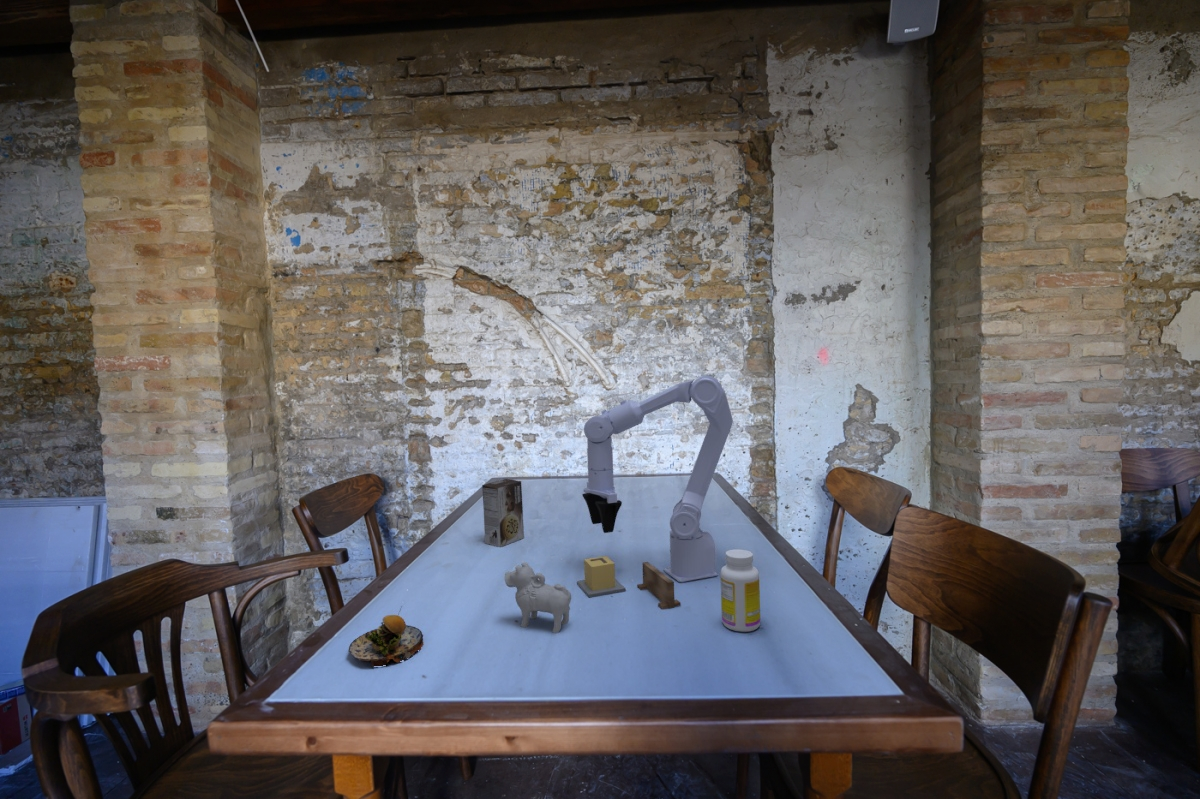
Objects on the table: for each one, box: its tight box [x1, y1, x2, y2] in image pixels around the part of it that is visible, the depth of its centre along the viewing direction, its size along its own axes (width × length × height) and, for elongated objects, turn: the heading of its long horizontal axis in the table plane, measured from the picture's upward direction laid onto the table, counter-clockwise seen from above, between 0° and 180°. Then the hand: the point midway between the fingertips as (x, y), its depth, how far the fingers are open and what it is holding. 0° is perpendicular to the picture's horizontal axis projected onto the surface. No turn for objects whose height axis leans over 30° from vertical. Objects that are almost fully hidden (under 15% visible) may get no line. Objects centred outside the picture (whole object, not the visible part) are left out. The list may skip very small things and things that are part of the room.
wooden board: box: [636, 561, 682, 610], centre depth 112 cm, size 12×4×5 cm, turn 20°
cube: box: [583, 555, 616, 591], centre depth 117 cm, size 5×5×5 cm
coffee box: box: [481, 478, 525, 548], centre depth 151 cm, size 9×6×16 cm
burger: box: [347, 605, 424, 668], centre depth 94 cm, size 12×12×8 cm
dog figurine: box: [504, 561, 572, 634], centre depth 102 cm, size 5×13×11 cm, turn 69°
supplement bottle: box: [720, 549, 761, 633], centre depth 98 cm, size 7×7×13 cm
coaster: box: [576, 578, 627, 599], centre depth 117 cm, size 8×8×1 cm
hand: (602, 527), depth 127 cm, fingers open, 7 cm apart
